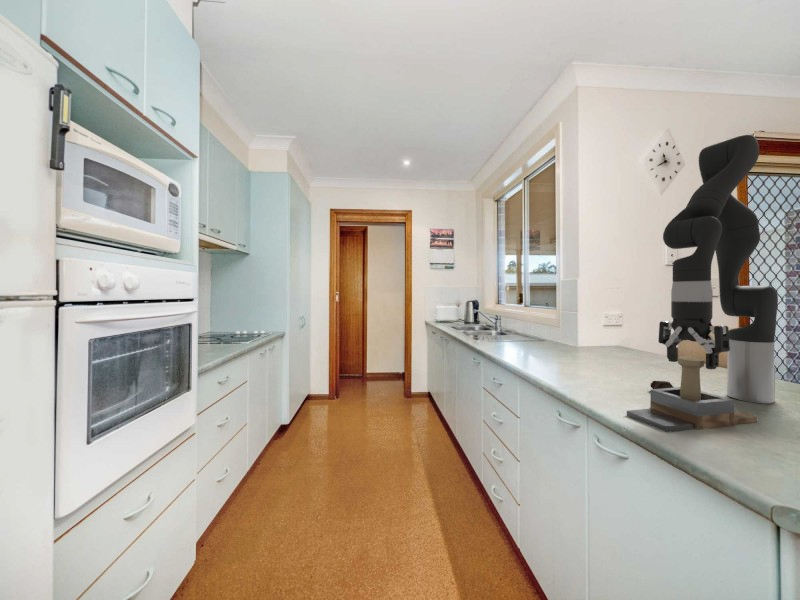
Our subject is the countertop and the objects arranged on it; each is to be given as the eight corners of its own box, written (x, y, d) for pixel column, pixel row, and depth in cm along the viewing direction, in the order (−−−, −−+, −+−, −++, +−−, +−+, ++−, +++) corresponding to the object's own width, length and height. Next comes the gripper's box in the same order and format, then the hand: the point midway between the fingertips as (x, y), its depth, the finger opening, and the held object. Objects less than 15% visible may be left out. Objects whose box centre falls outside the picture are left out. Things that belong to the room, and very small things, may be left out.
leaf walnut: (707, 406, 87) (707, 395, 87) (759, 422, 76) (760, 410, 76) (650, 412, 83) (650, 400, 83) (697, 429, 72) (697, 416, 72)
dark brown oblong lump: (658, 397, 101) (689, 412, 87) (642, 388, 102) (671, 402, 88) (668, 381, 101) (702, 394, 86) (652, 373, 102) (683, 384, 87)
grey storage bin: (683, 408, 85) (684, 386, 85) (734, 425, 75) (734, 400, 74) (624, 414, 82) (625, 391, 81) (668, 432, 71) (669, 406, 71)
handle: (703, 417, 79) (704, 357, 79) (703, 425, 75) (704, 361, 75) (678, 412, 83) (678, 355, 83) (676, 419, 78) (676, 359, 78)
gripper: (738, 300, 72) (738, 370, 72) (673, 299, 86) (673, 358, 86) (713, 300, 71) (712, 373, 71) (650, 299, 85) (650, 360, 85)
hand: (691, 365), depth 79 cm, fingers open, 8 cm apart
